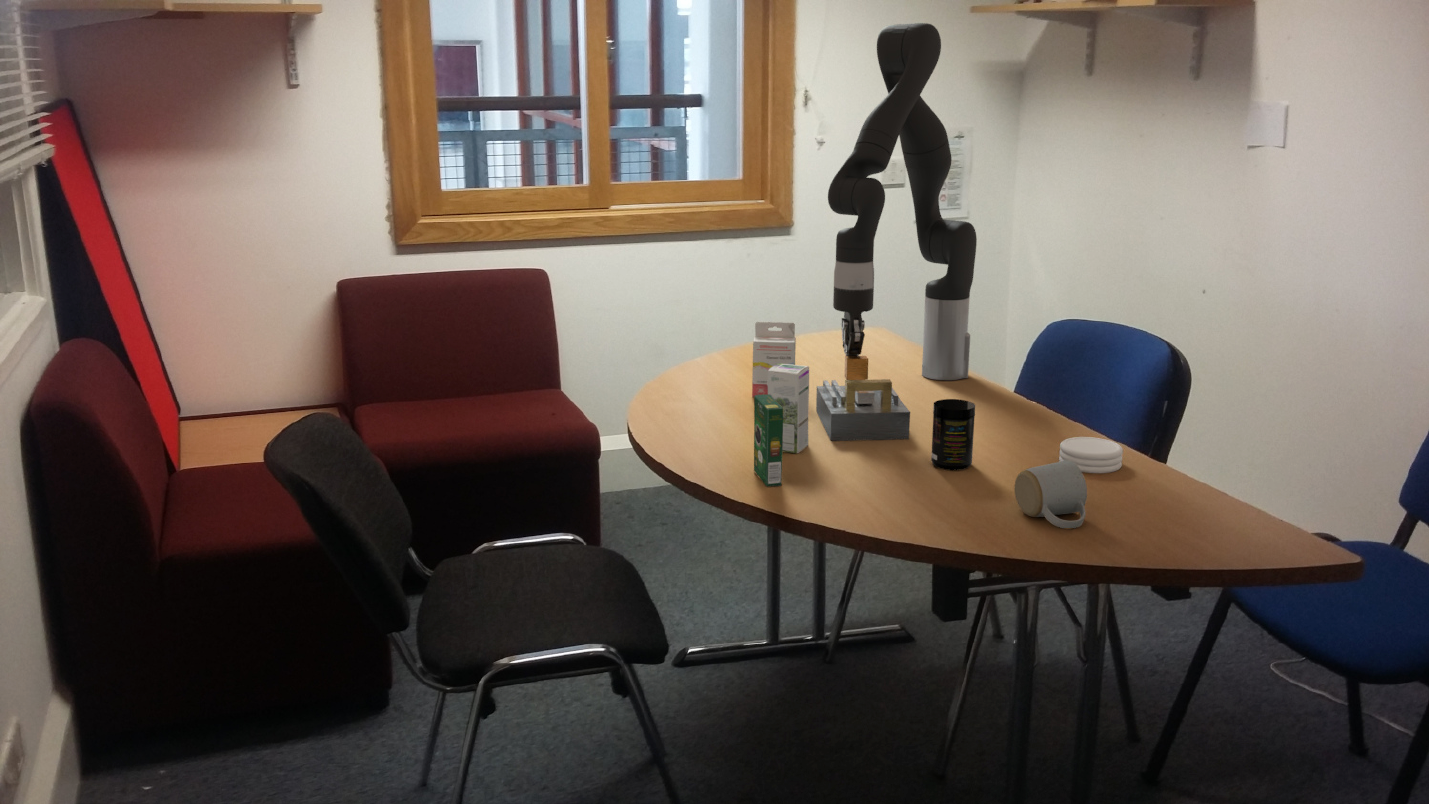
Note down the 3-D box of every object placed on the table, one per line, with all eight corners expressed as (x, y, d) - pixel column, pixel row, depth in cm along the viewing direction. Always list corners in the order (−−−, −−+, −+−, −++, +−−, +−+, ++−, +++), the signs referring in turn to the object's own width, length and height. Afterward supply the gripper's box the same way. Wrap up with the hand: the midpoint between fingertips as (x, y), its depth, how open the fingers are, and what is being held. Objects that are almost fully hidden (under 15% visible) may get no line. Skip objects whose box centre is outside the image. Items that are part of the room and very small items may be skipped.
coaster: (1046, 459, 196) (1047, 439, 195) (1095, 452, 199) (1096, 433, 198) (1084, 478, 187) (1085, 457, 186) (1134, 470, 190) (1136, 450, 189)
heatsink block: (888, 409, 225) (890, 359, 222) (909, 439, 207) (911, 384, 204) (816, 411, 224) (817, 360, 222) (830, 440, 206) (831, 386, 203)
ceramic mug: (1009, 508, 173) (1012, 459, 171) (1056, 501, 176) (1060, 453, 174) (1050, 534, 164) (1055, 483, 162) (1099, 527, 166) (1104, 476, 164)
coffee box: (783, 486, 183) (784, 406, 180) (766, 488, 182) (766, 407, 179) (770, 470, 191) (770, 393, 187) (753, 471, 190) (753, 394, 187)
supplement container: (979, 469, 191) (983, 407, 188) (943, 473, 189) (946, 411, 186) (959, 456, 197) (962, 397, 194) (923, 461, 195) (926, 401, 192)
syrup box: (809, 445, 204) (810, 364, 200) (797, 454, 198) (798, 372, 195) (779, 441, 206) (779, 361, 202) (766, 450, 201) (766, 369, 197)
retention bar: (865, 386, 221) (866, 355, 220) (876, 403, 210) (877, 371, 208) (844, 386, 221) (845, 356, 220) (854, 403, 210) (855, 371, 208)
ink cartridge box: (751, 398, 234) (751, 326, 230) (753, 391, 239) (753, 321, 235) (794, 398, 233) (795, 326, 229) (795, 392, 238) (796, 321, 234)
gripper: (880, 290, 213) (876, 382, 217) (867, 278, 225) (864, 365, 230) (839, 290, 212) (836, 382, 217) (829, 279, 225) (827, 366, 230)
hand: (851, 373), depth 223 cm, fingers closed
